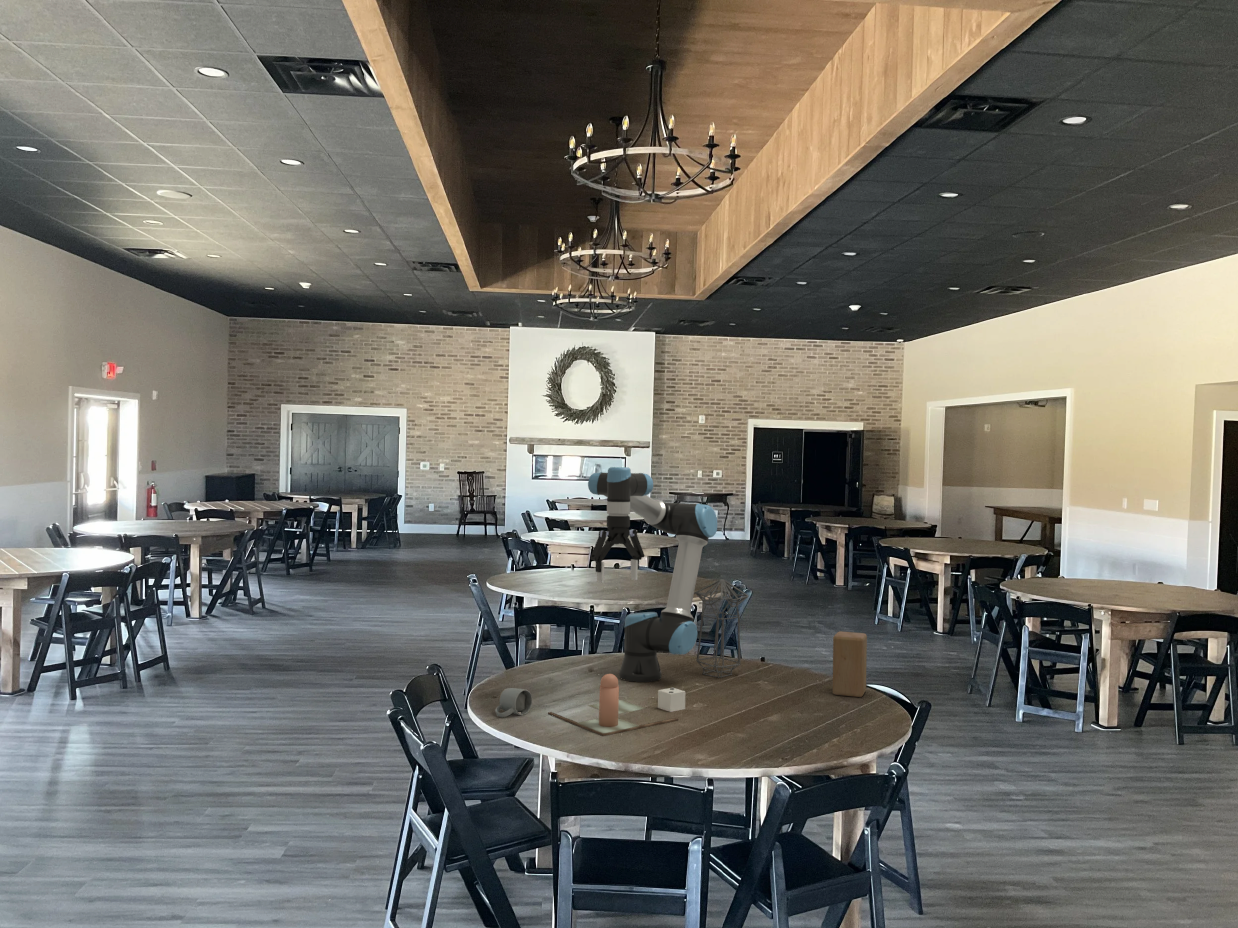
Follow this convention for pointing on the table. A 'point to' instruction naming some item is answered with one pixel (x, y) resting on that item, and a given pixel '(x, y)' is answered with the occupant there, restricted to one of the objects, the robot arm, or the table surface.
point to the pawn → (608, 701)
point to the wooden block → (849, 664)
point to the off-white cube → (671, 699)
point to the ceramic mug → (514, 702)
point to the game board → (622, 724)
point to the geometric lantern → (726, 585)
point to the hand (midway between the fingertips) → (617, 581)
